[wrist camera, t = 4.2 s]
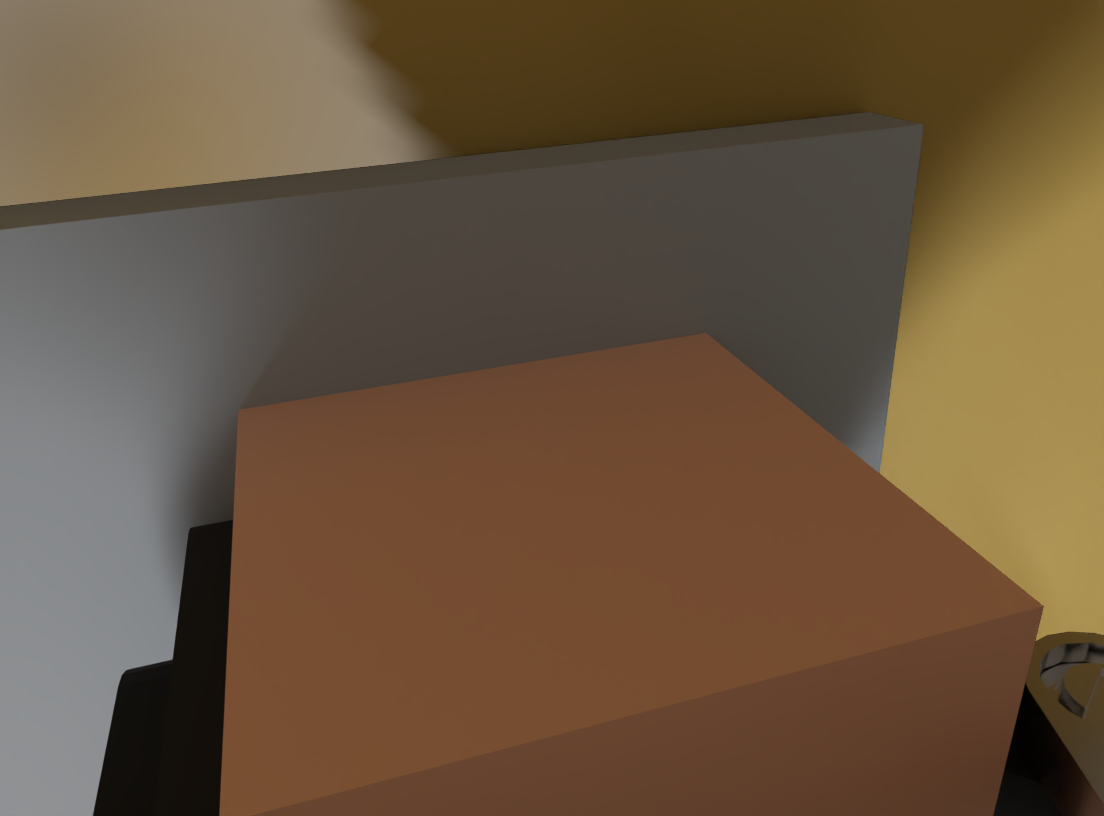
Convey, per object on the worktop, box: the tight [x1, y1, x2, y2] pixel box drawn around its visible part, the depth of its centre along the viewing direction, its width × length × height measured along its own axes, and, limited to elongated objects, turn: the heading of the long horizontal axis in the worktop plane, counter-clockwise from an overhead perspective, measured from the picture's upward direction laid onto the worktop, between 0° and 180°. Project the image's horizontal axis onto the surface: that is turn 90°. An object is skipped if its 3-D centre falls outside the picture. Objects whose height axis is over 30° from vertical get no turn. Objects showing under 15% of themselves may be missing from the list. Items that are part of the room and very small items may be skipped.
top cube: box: [219, 333, 1044, 816], centre depth 8 cm, size 5×5×5 cm
